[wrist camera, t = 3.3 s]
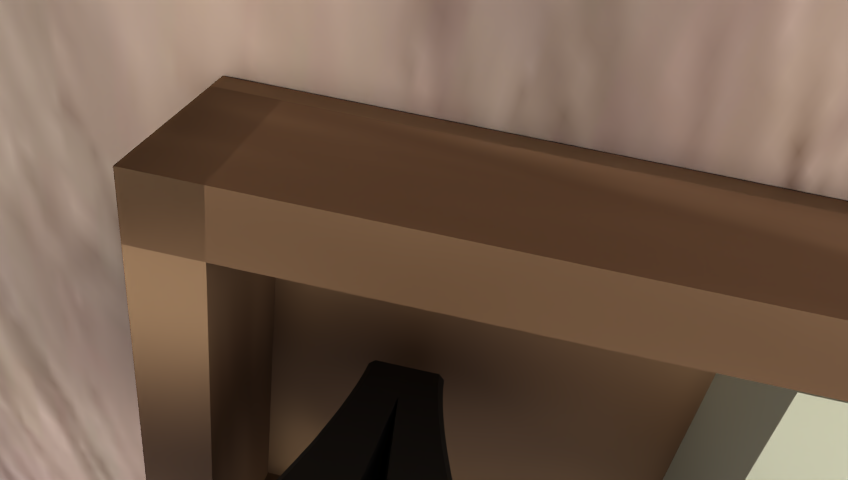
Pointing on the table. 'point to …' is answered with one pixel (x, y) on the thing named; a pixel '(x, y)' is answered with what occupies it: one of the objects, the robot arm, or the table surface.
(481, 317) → the slide box
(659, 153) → the table surface
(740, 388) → the cover slab
